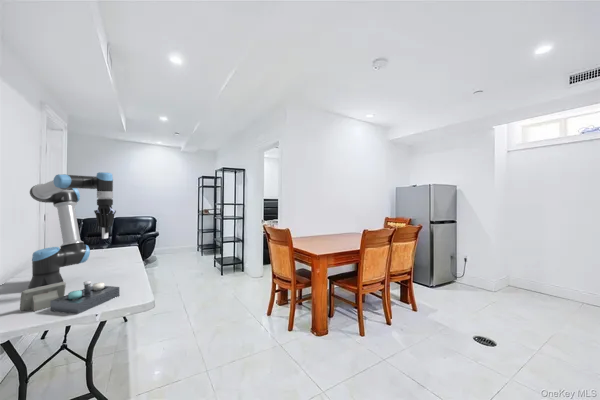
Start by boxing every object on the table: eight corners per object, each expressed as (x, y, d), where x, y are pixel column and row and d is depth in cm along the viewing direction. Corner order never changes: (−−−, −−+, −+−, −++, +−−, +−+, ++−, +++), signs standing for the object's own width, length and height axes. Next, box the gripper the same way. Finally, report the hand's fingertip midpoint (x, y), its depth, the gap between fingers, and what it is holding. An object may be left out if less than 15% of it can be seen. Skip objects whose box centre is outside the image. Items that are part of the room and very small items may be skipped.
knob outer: (65, 308, 122) (65, 293, 122) (76, 304, 127) (76, 290, 127) (74, 309, 121) (73, 294, 121) (84, 305, 126) (84, 290, 126)
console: (50, 311, 121) (50, 300, 121) (95, 293, 143) (95, 285, 142) (78, 314, 118) (77, 303, 118) (119, 295, 140) (119, 286, 140)
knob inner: (90, 298, 134) (90, 285, 134) (99, 295, 139) (99, 282, 139) (98, 299, 133) (98, 285, 133) (106, 295, 138) (106, 282, 138)
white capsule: (82, 294, 129) (82, 282, 129) (87, 292, 132) (87, 280, 132) (86, 294, 128) (86, 283, 128) (92, 292, 131) (92, 281, 131)
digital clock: (65, 299, 135) (64, 279, 135) (66, 304, 129) (66, 283, 129) (19, 309, 123) (19, 287, 123) (19, 315, 117) (19, 292, 117)
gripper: (89, 198, 146) (89, 239, 147) (108, 198, 144) (108, 239, 144) (101, 198, 154) (102, 237, 154) (119, 198, 151) (120, 237, 152)
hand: (105, 238), depth 149 cm, fingers closed
